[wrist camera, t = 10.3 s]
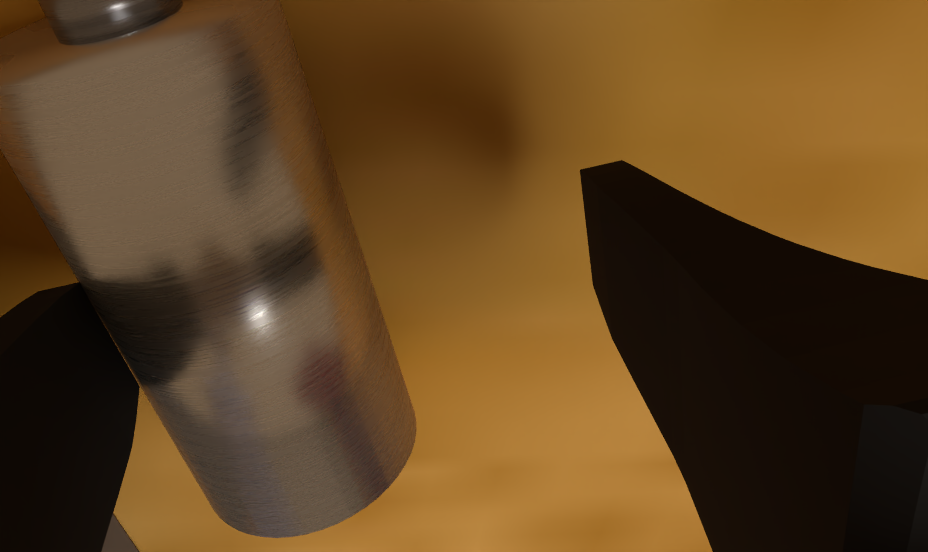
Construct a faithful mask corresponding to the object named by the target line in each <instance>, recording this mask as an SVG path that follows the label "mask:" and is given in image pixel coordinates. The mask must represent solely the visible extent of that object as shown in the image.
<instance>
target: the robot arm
mask: <svg viewBox="0 0 928 552" xmlns="http://www.w3.org/2000/svg"><path fill="white" fill-rule="evenodd" d="M580 175H581V184H582V193H583V202H584V211H585V219H586V228H587V237H588V246H589V255H590V263H591V272H592V281H593V286H594V289H595V292H596V295H597V298H598V301H599V304H600V306H601V309H602V312H603V315H604V318H605V320H606V323H607V326H608V329H609V331H610V334H611V337H612V339H613V341H614V343H615V345H616V347H617V349H618V351H619V353H620V355H621V357H622V359H623V361H624V363H625V365H626V367H627V368H628V370H629V372H630V374H631V376H632V378H633V380H634V382H635V384H636V386H637V388H638V390H639V391H640V393H641V395H642V397H643V399H644V401H645V403H646V405H647V407H648V409H649V410H650V412H651V414H652V416H653V418H654V420H655V422H656V424H657V426H658V428H659V429H660V431H661V433H662V435H663V437H664V439H665V441H666V443H667V445H668V447H669V448H670V450H671V452H672V454H673V456H674V458H675V460H676V463H677V465H678V467H679V469H680V471H681V473H682V475H683V478H684V480H685V482H686V484H687V487H688V489H689V492H690V494H691V497H692V500H693V502H694V505H695V507H696V510H697V512H698V515H699V517H700V520H701V522H702V525H703V527H704V530H705V533H706V535H707V538H708V540H709V543H710V545H711V548H712V551H713V552H928V280H926V279H921V278H917V277H913V276H908V275H904V274H900V273H896V272H891V271H887V270H883V269H879V268H875V267H871V266H867V265H863V264H860V263H856V262H853V261H849V260H845V259H842V258H839V257H836V256H833V255H830V254H827V253H824V252H821V251H817V250H814V249H811V248H808V247H805V246H802V245H799V244H796V243H794V242H791V241H788V240H785V239H783V238H780V237H778V236H775V235H772V234H770V233H768V232H765V231H763V230H761V229H758V228H756V227H754V226H751V225H749V224H747V223H744V222H742V221H739V220H737V219H735V218H733V217H731V216H729V215H726V214H724V213H722V212H720V211H718V210H716V209H714V208H712V207H710V206H708V205H706V204H704V203H702V202H700V201H698V200H696V199H694V198H692V197H690V196H688V195H686V194H684V193H683V192H681V191H679V190H677V189H675V188H673V187H671V186H669V185H668V184H666V183H664V182H662V181H660V180H658V179H657V178H655V177H653V176H651V175H649V174H648V173H646V172H644V171H642V170H640V169H638V168H636V167H635V166H633V165H631V164H629V163H627V162H624V161H622V160H621V161H617V162H612V163H608V164H603V165H599V166H594V167H590V168H585V169H581V170H580ZM139 387H140V386H139V385H138V383H137V381H136V379H135V378H134V376H133V374H132V372H131V371H130V369H129V367H128V365H127V364H126V362H125V360H124V359H123V357H122V355H121V353H120V352H119V350H118V348H117V346H116V345H115V343H114V341H113V339H112V338H111V336H110V334H109V332H108V331H107V329H106V327H105V325H104V324H103V322H102V320H101V319H100V317H99V315H98V313H97V312H96V310H95V308H94V306H93V305H92V303H91V301H90V299H89V298H88V296H87V294H86V292H85V291H84V289H83V287H82V286H81V284H80V282H78V283H74V284H69V285H65V286H61V287H56V288H52V289H47V290H43V291H38V292H37V293H35V294H33V295H32V296H30V297H29V298H27V299H25V300H24V301H22V302H21V303H19V304H18V305H17V306H15V307H14V308H12V309H11V310H10V311H8V312H7V313H6V314H4V315H3V316H2V317H0V552H101V551H102V548H103V544H104V541H105V538H106V534H107V531H108V528H109V524H110V521H111V518H112V515H113V511H114V508H115V505H116V501H117V498H118V495H119V491H120V488H121V484H122V481H123V477H124V474H125V470H126V467H127V463H128V460H129V456H130V452H131V448H132V443H133V437H134V430H135V424H136V416H137V406H138V397H139Z"/></svg>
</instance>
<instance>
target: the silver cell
mask: <svg viewBox="0 0 928 552" xmlns="http://www.w3.org/2000/svg"><path fill="white" fill-rule="evenodd" d="M38 2H39V4H40V6H41V8H42V10H43V12H44V14H45V16H46V18H44V19H41V20H39V21H37V22H34V23H32V24H30V25H27V26H25V27H23V28H21V29H19V30H17V31H14V32H12V33H10V34H8V35H6V36H4V37H2V38H1V39H0V149H1V151H2V152H3V154H4V156H5V158H6V159H7V161H8V163H9V164H10V166H11V168H12V169H13V171H14V173H15V175H16V176H17V178H18V180H19V181H20V183H21V185H22V186H23V188H24V190H25V191H26V193H27V195H28V197H29V198H30V200H31V202H32V203H33V205H34V207H35V208H36V210H37V212H38V213H39V215H40V217H41V219H42V220H43V222H44V224H45V225H46V227H47V229H48V230H49V232H50V234H51V235H52V237H53V239H54V241H55V242H56V244H57V246H58V247H59V249H60V251H61V252H62V254H63V256H64V257H65V259H66V261H67V263H68V264H69V266H70V268H71V269H72V271H73V273H74V274H75V276H76V278H77V279H78V281H79V282H80V284H81V286H82V287H83V289H84V291H85V292H86V294H87V296H88V298H89V299H90V301H91V303H92V305H93V306H94V308H95V310H96V312H97V313H98V315H99V317H100V318H101V320H102V322H103V323H104V325H105V327H106V329H107V330H108V332H109V334H110V335H111V337H112V339H113V340H114V342H115V344H116V345H117V347H118V349H119V351H120V352H121V354H122V356H123V357H124V359H125V361H126V362H127V364H128V366H129V367H130V369H131V371H132V373H133V374H134V376H135V378H136V379H137V381H138V383H139V384H140V386H141V388H142V389H143V391H144V393H145V395H146V396H147V398H148V400H149V401H150V403H151V405H152V406H153V408H154V410H155V411H156V413H157V415H158V417H159V418H160V420H161V422H162V423H163V425H164V427H165V428H166V430H167V432H168V434H169V435H170V437H171V439H172V440H173V442H174V444H175V445H176V447H177V449H178V450H179V452H180V454H181V456H182V457H183V459H184V461H185V462H186V464H187V466H188V467H189V469H190V471H191V472H192V474H193V476H194V478H195V479H196V481H197V483H198V484H199V486H200V488H201V489H202V491H203V493H204V494H205V496H206V498H207V500H208V501H209V503H210V505H211V506H212V508H213V510H214V511H215V512H216V513H217V515H218V516H219V517H220V518H221V519H222V520H223V521H224V522H226V523H227V524H228V525H230V526H231V527H233V528H235V529H237V530H239V531H241V532H244V533H247V534H250V535H255V536H260V537H272V538H280V537H293V536H299V535H304V534H309V533H312V532H316V531H319V530H322V529H325V528H328V527H330V526H333V525H335V524H338V523H339V522H341V521H343V520H345V519H347V518H349V517H351V516H353V515H354V514H356V513H358V512H359V511H361V510H362V509H364V508H365V507H367V506H368V505H369V504H370V503H372V502H373V501H374V500H376V499H377V498H378V497H379V496H380V495H381V494H382V493H383V492H384V491H385V490H386V489H387V488H388V487H389V486H390V485H391V484H392V483H393V481H394V480H395V479H396V478H397V477H398V475H399V474H400V472H401V471H402V469H403V468H404V466H405V465H406V463H407V460H408V458H409V456H410V454H411V452H412V449H413V446H414V443H415V437H416V417H415V412H414V409H413V406H412V403H411V400H410V396H409V393H408V390H407V387H406V384H405V381H404V378H403V375H402V372H401V369H400V366H399V363H398V360H397V357H396V354H395V351H394V348H393V345H392V342H391V338H390V335H389V332H388V329H387V326H386V323H385V320H384V317H383V314H382V311H381V308H380V305H379V302H378V299H377V296H376V293H375V290H374V287H373V283H372V280H371V277H370V274H369V271H368V268H367V265H366V262H365V259H364V256H363V253H362V250H361V247H360V244H359V241H358V238H357V235H356V232H355V228H354V225H353V222H352V219H351V216H350V213H349V210H348V207H347V204H346V201H345V198H344V195H343V192H342V189H341V186H340V183H339V180H338V177H337V174H336V170H335V167H334V164H333V161H332V158H331V155H330V152H329V149H328V146H327V143H326V140H325V137H324V134H323V131H322V128H321V125H320V122H319V119H318V115H317V112H316V109H315V106H314V103H313V100H312V97H311V94H310V91H309V88H308V85H307V82H306V79H305V76H304V73H303V70H302V67H301V64H300V61H299V57H298V54H297V51H296V48H295V45H294V42H293V39H292V36H291V33H290V30H289V27H288V24H287V21H286V18H285V15H284V12H283V9H282V6H281V2H280V0H38Z"/></svg>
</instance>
